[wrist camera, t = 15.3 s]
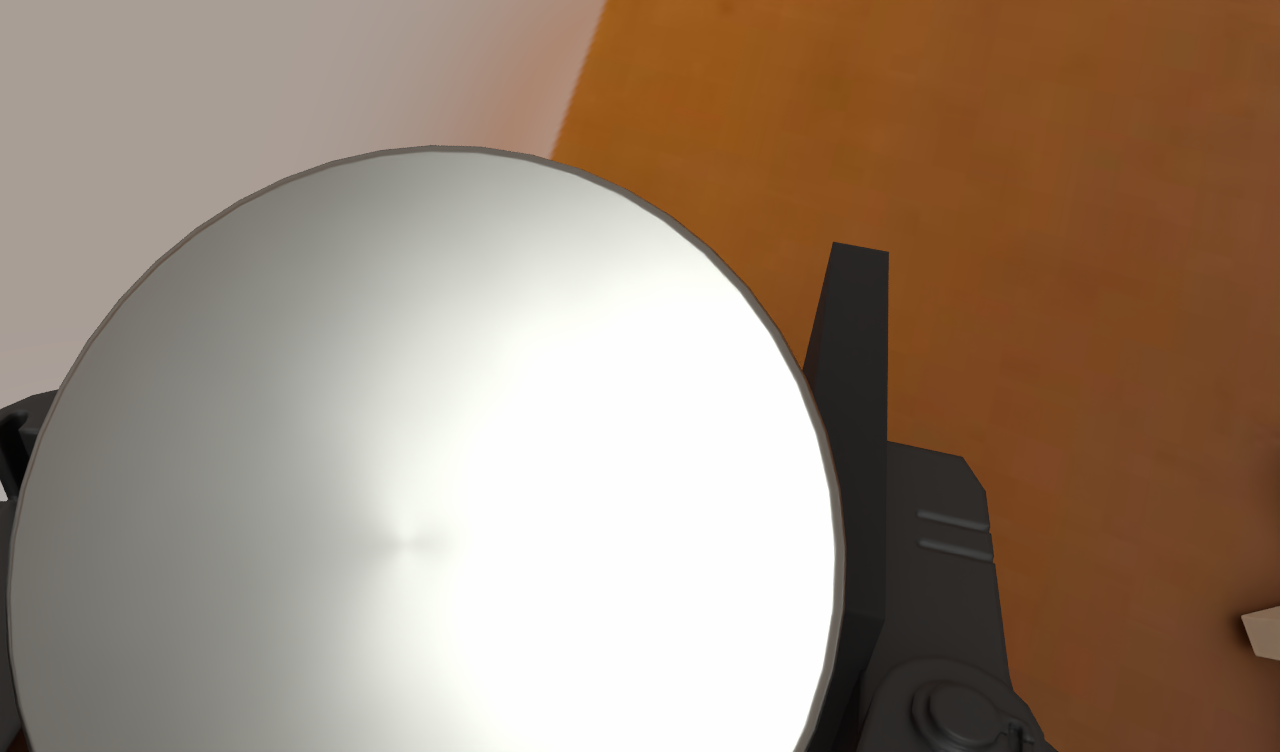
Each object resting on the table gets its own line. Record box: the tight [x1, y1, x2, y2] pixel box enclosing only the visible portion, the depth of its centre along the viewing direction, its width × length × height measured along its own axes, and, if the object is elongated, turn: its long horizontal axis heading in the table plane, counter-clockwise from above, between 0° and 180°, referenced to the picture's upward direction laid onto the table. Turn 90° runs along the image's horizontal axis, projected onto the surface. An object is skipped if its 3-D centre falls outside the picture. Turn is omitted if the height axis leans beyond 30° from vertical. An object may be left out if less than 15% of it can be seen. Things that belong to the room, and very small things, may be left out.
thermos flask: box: [5, 145, 847, 752], centre depth 12 cm, size 5×5×14 cm
